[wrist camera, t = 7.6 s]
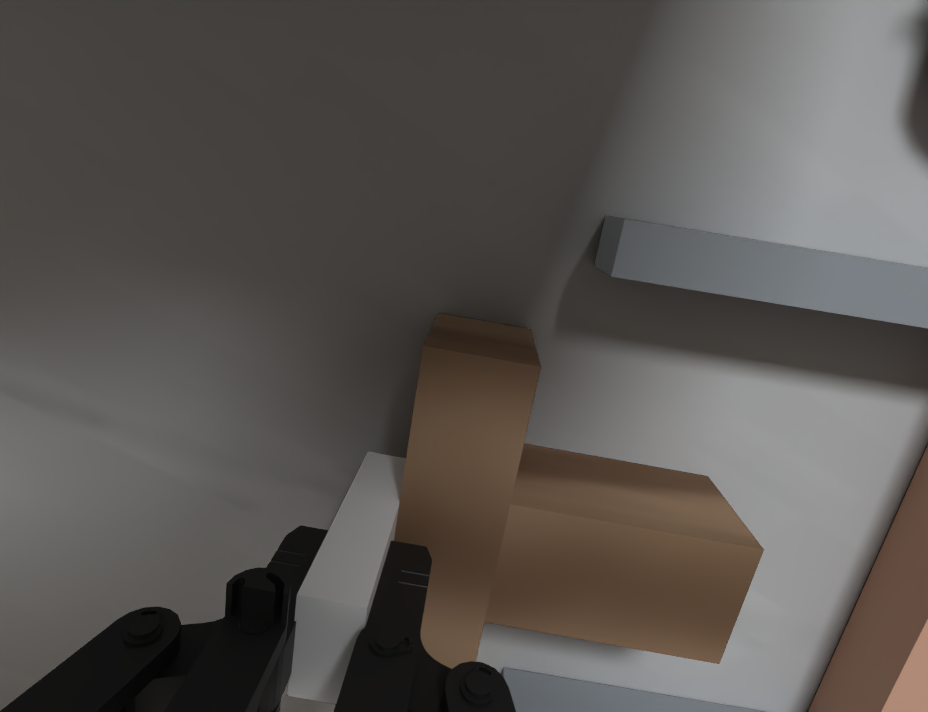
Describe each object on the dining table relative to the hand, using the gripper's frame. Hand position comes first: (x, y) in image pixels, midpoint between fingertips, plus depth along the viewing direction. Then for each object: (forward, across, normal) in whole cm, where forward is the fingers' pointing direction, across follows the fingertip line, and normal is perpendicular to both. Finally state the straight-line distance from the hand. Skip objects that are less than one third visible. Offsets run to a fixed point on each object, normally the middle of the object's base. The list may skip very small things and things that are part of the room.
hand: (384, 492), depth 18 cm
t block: (+2, +5, 0) cm, 5 cm away
